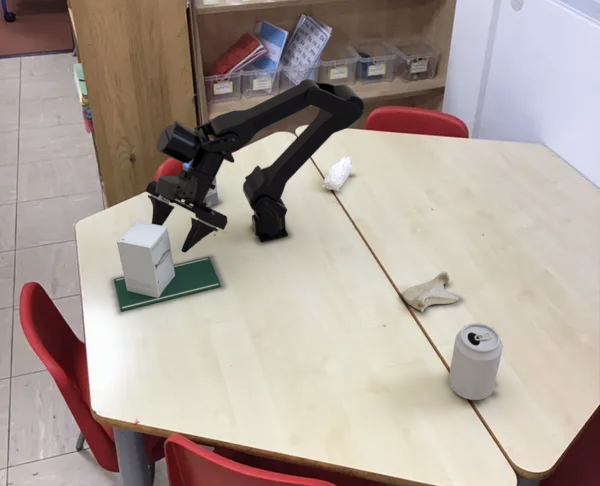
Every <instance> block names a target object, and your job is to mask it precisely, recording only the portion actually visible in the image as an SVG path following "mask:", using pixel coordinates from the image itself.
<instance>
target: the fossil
mask: <svg viewBox="0 0 600 486" xmlns="http://www.w3.org/2000/svg"><path fill="white" fill-rule="evenodd" d="M449 282H450V275H449V273H448V272H447V271H442V272H440V273H439V274H438V275H436V277H434V278H433V279H431V280H428V281H426V282H423V283H421V284H417V285H414V286H411V287H409V288H407V289H406V290H405V291H404V292H403V294H402V297H403V299H404V301H405V302H406V303H407V305H410V306H412V308H414V309H416V310H417V311H420V312H424V310H425V309H426V308H428V307H429V306H432V305H449V304H450V305H451V304H454V303H456V302H458V301H459V297H457V296H456V295H455V294H452V293H451V292H449V291H447V290H446V289H445V286H444V285H447V284H448V283H449Z"/></svg>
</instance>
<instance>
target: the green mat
mask: <svg viewBox="0 0 600 486" xmlns="http://www.w3.org/2000/svg"><path fill="white" fill-rule="evenodd" d="M173 265H174V272H175V276H174V278H173V279H172V280H171V281H170V283H169V284H168V285H167V286H166V288H165V289H164V291H163V292H162V293H161V295H160V297H159V298H156V297H152V296H147V295H143V294H139V293H134V292H130V291H127V287H126V282H125V278H124V276H121V277H116V278H113V281H114V285H115V290H116V295H117V299H118V304H119V308H120V312H121V313H122V312H125V311H130V310H134V309H138V308H142V307H146V306H150V305H155V304H158V303H162V302H165V301H170V300H174V299H178V298H182V297H187V296H190V295H195V294H199V293H202V292H206V291H207V292H208V291H210V290H214V289H215V290H216V289H218V288H222V284H221V282H220V280H219V276H218V275H217V272H216V269H215V267H214V265H213V262H212V260H211V258H210V256H205V257H201V258H197V259H193V260H188V261H185V262H181V263H176V264H173Z"/></svg>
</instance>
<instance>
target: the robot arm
mask: <svg viewBox="0 0 600 486" xmlns="http://www.w3.org/2000/svg"><path fill="white" fill-rule="evenodd" d="M311 106H312V107H314V108H315V107H316V108H318V112H317V115H316V116H315V118H314V119H313V120H312V121H311V122H310V123H309V124H308V126H306V128H305V129H304V130H302V132H301V133H299V134H298V136H297V137H296V138H295V139H294V140H293V141H292V143H290V145H288V146H287V147H286V149H285V150H284V151H283V152H282V153H281V154H280V155H279V156H278V157H277V158H276V160H275V161H273V163H271V164H270V165H269V166H266V167H264V168H261V166H260V165H256V166H255V167H254V168H253V170H252V171H251V172H250V173H249V174H248V175H245V177H244V179H245V180H244V181H243V184H242V192H243V194H244V196H245V198H246V200H247V203H248V205H249V207H250V209H251V210H252V211H253V214H252V215H251V225H252V231H253V233H254V235H255V236H256V237H257V238H258V240H259V242H260V243H266V242H271V241H276V240H279V239H284V238H287V237H289V232H288V231H287V229H286V228H287V227H286V215H287V212H288V208H287V207H286V205H285V203H284V201H283V199H282V196H283V193H284V191H285V188H286V186H287V183H288V182H289V180H290V179H291V178H293V176H294V175H295V174H296V173H297V172H298V171H299V170H300V169H301V168H302V167H303V166H304V165H305V164H306V162H308V160H309V159H310V158H311V157H312V156H313V155H314V154H315V153H316V152H317V151H318V150H319V149H320V148H321V147H322V146H323V145H324V144H325V143H326V142H327V141H328V139H330V138H331V137H332V135H334V134H335V133H338V132H341V131H344V130H346V129H349V127H351V126H352V125H353V124H355V122H357V121H359V119H361V118H362V116H363V114H364V112H365V104H364V100H362V99H361V97H360V96H359V95H358V94H357V93H356V92H355V91H354V90H353V89H352V88H351V87H350V86H349V85H347V84H336V85H335V84H332V83H329V82H322V81H316V80H313V79H308V78H306V79H302V80H301V81H300V83H298V84H296V85H294V86H292V87H290V88H288V89H287V90H284V91H282V92H280V93H278V94H277V95H274V96H272V97H270V98H268V99H266V100H264V101H262V102H260V103H258V104H256V105H254V106H252V107H250V108H247V109H237V110H231V111H228V112H225V113H221V114H218V115H216V116H215V117H214V118H213V119H212V120H211V121H207V122H206V123H203V124H201V125H198V126H196V127H194V128H193V129H191V128H189V127H186V126H185V125H184V124H183V123H181V122H180V121H177V120H175V121H174V122H173V124H169V125H168V126H167V127H166V128H164V129H163V130H162V131H161V132H160V134H159V136H158V139H157V142H156V146H155V147H156V151H157V152H159V153H161V154H163V155H165V156H166V157H168V158H170V159H172V160H174V161H177V162H178V163H181V164H184V163H187V164H188V163H189V162H191V163H190V165H189V167H188V169H187V171H185V170H183V168H182V169H181V170H180V172H179V174H178V175H159V176H158V178H157V181H156V180H152V181H150V182H148V184H147V186H146V188H145V190H144V192H145V193H147V194H148V195H147V198H148V199H149V200H150V202H151V205H152V216H151V224H155V225H160V226H164V224H165V222H166V221H167V219H168V218H169V217H170V215H171V214H172V212H173V210H174V209H175V206H174V205H173V204H175V205H177V206H179V207H180V208H183V209H185V210H187V211H189V212H191V213H193V214H194V215H195V218H194V217H190V222H191V227H190V229H189V231H188V234H187V236H186V237H185V239H184V242H183V244H182V247H181V252H182V253H187V252H188V251H189V250H191V249H192V248H194V247H195V245H197V244H198V243H199V242H200V241H202V240H203V239H204V238H206V237H207V236H208V235H210V234H212V233H213V232H218V231H219V230H223V231H224V230H225V229H226V227H227V225H228V216H227V215H225V214H224V213H222V212H220V211H217V210H215V209H214V208H212V207H207V206H206V205H207V204H206V203H204V200H205V198H206V196H207V194H208V192H209V190H210V189H212V190H214V189H215V187H216V185H214V184H212V183H213V181H214V179H215V177H216V178H217V175H218V173H219V171H220V168H221V167H222V164H223V163H224V161H226V162H228V163H232V164H233V163H235V158H234V156H233V153H236V152H238V151H240V149H242V148H244V146H247V144H249V143H251V141H252V140H253V139H254V138H255V136H256V135H257V134H258V133H260V132H261V131H262V130H264V129H266V128H268V127H271V126H272V125H273V126H274V124H277V123H279V122H280V121H282V120H284V119H286V118H289V117H290V116H293V115H295V114H297V113H298V112H300V111H303V110H304V109H306V108H308V107H311ZM210 136H211V137H212V139H211V138H210ZM190 167H191V168H190ZM192 168H193V169H192ZM182 200H183V201H182Z"/></svg>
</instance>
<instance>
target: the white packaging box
mask: <svg viewBox="0 0 600 486" xmlns="http://www.w3.org/2000/svg"><path fill="white" fill-rule="evenodd" d="M168 228H169V227H168V226H164V225H162V226H160V225H155V224H152V223H148V222H144V221H139V220H135V221H134V222H133V224H131V225H130V227H128V229H126V231H124V233H123V234H122V235H121V236H120V237H119V239H118V240H117V241H116V246H117V250H118V255H119V259H120V264H121V268H122V273H123V277H124V278H125V282H126V287H127V291H130V292H134V293H139V294H143V295H147V296H152V297H156V298H159V297H160V295H161V293H162V292H163V291H164V289H165V288H166V286H167V285H168V284H169V283H170V281H171V280H172V279H173V278H174V276H175V272H174V265H175V264H174V259H173V254H172V253H173V252H172V247H171V242H170V235H169V229H168Z"/></svg>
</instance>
